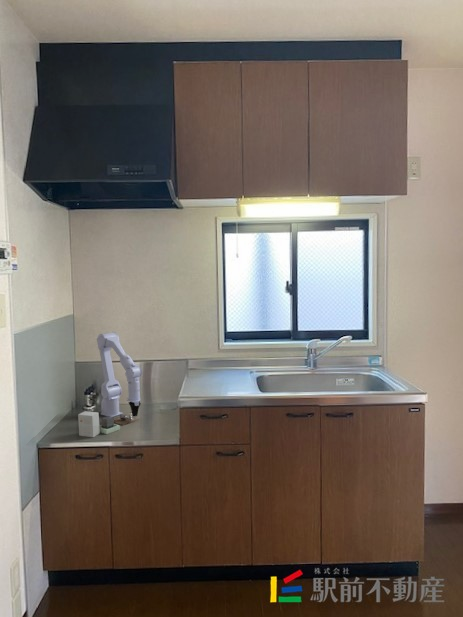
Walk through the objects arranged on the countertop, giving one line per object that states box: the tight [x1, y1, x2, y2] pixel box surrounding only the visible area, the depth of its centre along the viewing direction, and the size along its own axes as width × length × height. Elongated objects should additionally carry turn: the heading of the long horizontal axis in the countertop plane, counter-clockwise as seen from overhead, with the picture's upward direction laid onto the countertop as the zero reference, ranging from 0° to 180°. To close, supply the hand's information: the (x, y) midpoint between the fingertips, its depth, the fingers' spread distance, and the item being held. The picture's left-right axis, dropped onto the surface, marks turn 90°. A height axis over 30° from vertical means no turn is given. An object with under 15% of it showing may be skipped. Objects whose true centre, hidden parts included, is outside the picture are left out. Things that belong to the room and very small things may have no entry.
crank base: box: [113, 416, 140, 426], centre depth 264 cm, size 11×11×1 cm
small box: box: [77, 410, 101, 438], centre depth 243 cm, size 8×6×10 cm
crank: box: [119, 411, 135, 421], centre depth 262 cm, size 9×4×4 cm, turn 52°
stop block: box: [100, 416, 115, 429], centre depth 249 cm, size 4×4×6 cm
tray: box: [99, 423, 121, 435], centre depth 249 cm, size 8×8×2 cm
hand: (134, 415), depth 262 cm, fingers closed
